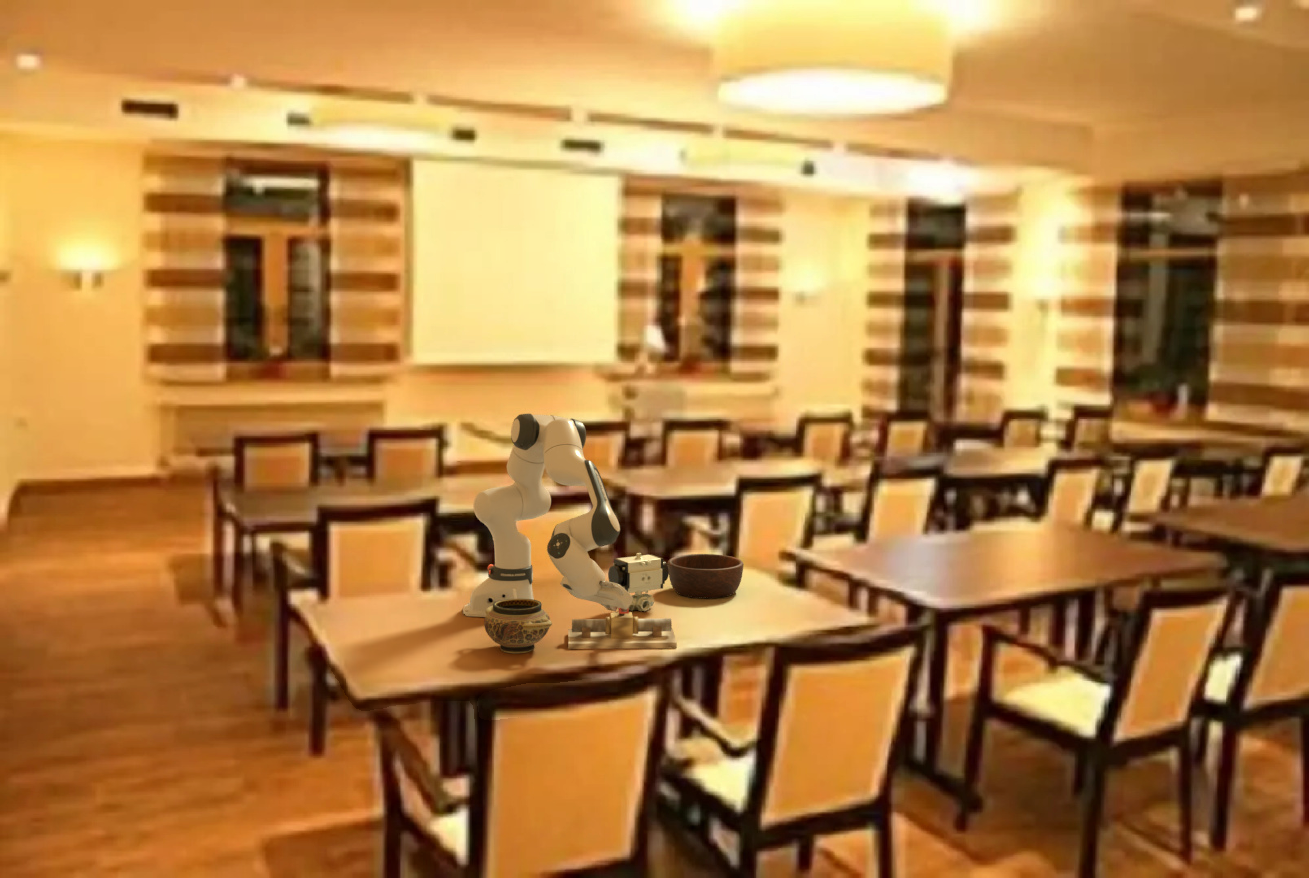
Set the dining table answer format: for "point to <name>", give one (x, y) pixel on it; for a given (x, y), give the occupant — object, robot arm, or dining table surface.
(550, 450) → the robot arm
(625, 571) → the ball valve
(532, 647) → the ceramic bowl
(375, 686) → the dining table surface
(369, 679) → the dining table surface
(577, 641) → the pipe board
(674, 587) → the wooden bowl
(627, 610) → the valve lever
